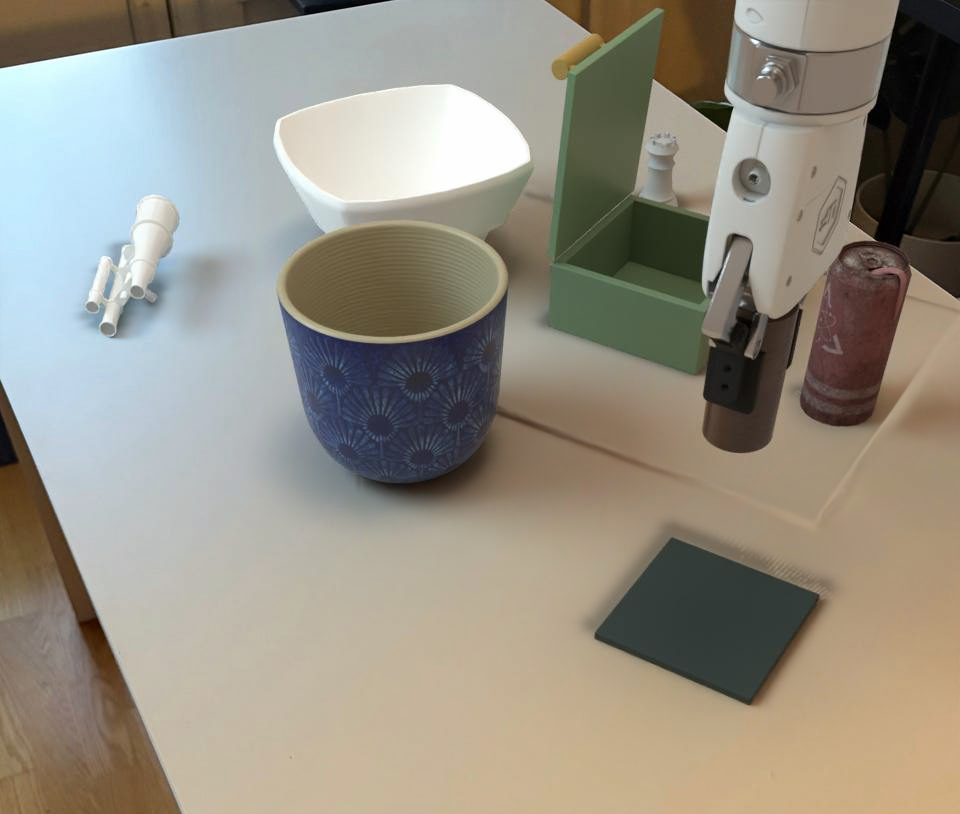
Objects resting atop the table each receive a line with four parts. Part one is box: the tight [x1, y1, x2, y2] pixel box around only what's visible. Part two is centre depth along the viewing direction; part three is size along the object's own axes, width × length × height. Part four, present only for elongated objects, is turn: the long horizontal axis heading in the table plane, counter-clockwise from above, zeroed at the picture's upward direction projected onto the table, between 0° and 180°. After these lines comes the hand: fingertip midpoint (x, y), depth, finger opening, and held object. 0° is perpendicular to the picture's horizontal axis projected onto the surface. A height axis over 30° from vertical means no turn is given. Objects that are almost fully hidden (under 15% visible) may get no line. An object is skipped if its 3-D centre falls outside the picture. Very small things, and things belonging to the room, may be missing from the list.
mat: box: [594, 536, 821, 706], centre depth 87 cm, size 12×12×1 cm
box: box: [548, 193, 711, 376], centre depth 110 cm, size 15×15×7 cm
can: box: [799, 240, 913, 428], centre depth 97 cm, size 6×6×14 cm
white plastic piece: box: [84, 194, 181, 338], centre depth 114 cm, size 8×14×5 cm
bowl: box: [272, 83, 535, 242], centre depth 115 cm, size 22×22×12 cm
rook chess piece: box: [638, 131, 680, 208], centre depth 122 cm, size 4×4×8 cm
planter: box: [276, 220, 509, 484], centre depth 95 cm, size 17×17×15 cm
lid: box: [546, 7, 665, 261], centre depth 104 cm, size 16×15×5 cm
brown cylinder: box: [701, 286, 800, 454], centre depth 73 cm, size 4×4×9 cm
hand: (747, 381), depth 74 cm, fingers closed on brown cylinder, 4 cm apart
